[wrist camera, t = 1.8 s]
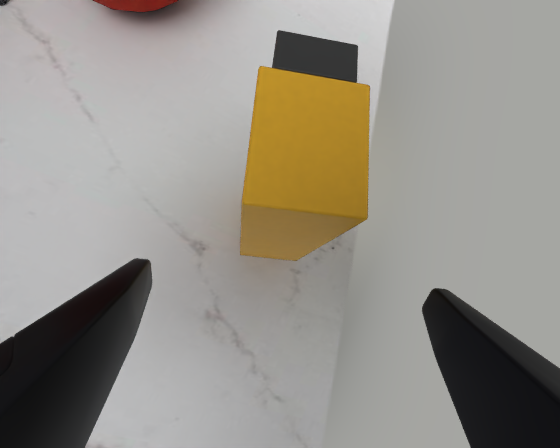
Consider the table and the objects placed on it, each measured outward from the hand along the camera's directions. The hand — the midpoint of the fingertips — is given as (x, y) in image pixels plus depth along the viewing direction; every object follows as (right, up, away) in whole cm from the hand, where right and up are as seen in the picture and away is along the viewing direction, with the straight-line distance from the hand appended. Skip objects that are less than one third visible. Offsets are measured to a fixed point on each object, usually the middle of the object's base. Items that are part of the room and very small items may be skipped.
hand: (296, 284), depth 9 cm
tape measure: (-1, +2, +12) cm, 12 cm away
